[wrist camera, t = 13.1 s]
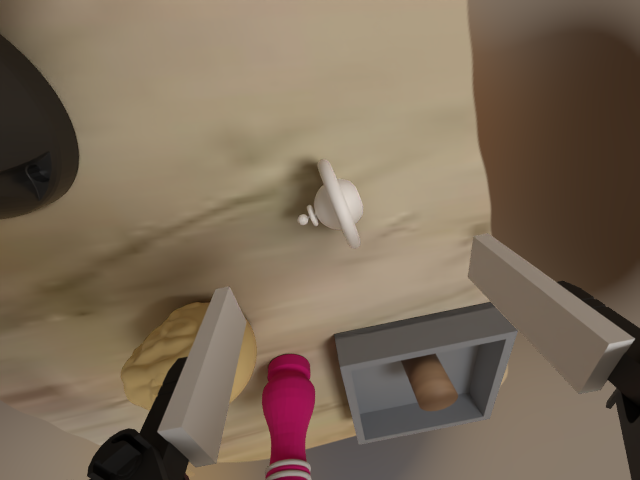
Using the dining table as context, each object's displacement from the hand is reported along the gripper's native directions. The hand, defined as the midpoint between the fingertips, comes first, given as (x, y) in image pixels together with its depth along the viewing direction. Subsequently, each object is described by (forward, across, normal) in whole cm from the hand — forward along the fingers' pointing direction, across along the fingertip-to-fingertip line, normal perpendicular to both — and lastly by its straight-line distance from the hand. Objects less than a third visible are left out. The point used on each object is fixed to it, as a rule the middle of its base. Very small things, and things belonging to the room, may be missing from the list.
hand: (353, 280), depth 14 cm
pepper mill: (+14, -10, -26) cm, 31 cm away
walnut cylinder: (+13, +9, -27) cm, 31 cm away
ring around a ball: (+14, 0, 0) cm, 14 cm away
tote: (+14, +9, -32) cm, 36 cm away
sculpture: (+14, -17, -14) cm, 26 cm away
